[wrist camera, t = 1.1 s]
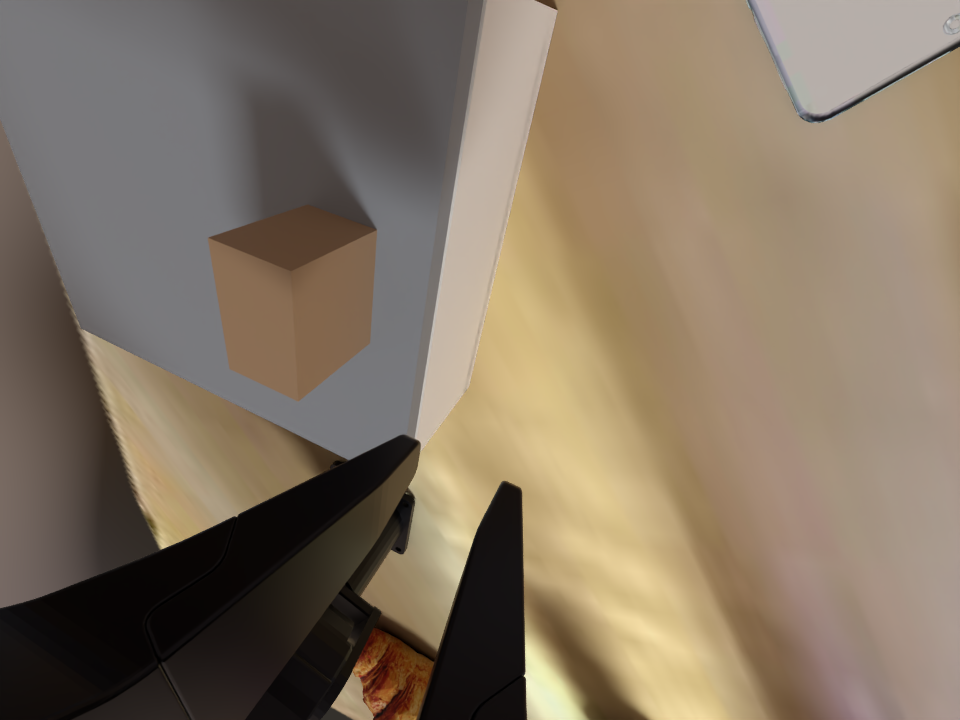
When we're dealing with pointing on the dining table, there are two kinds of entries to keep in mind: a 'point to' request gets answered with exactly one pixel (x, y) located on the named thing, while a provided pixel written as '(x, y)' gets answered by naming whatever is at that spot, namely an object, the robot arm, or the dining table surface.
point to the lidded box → (483, 193)
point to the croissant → (392, 677)
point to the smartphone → (851, 46)
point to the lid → (250, 189)
